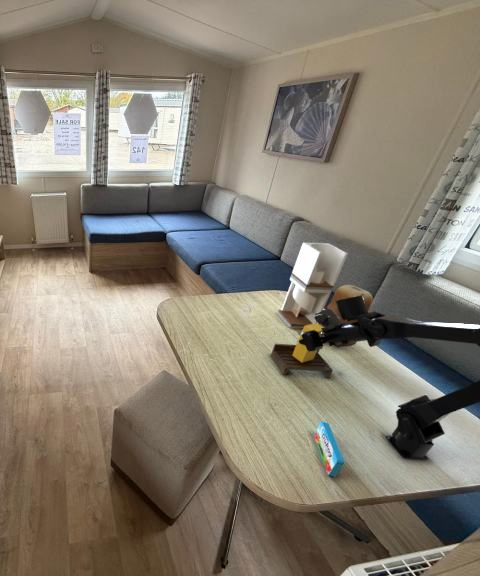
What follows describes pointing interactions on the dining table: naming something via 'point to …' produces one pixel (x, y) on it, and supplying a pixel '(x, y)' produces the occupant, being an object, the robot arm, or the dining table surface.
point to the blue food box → (328, 449)
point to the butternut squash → (348, 292)
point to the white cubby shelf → (311, 283)
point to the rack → (297, 361)
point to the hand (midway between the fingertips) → (305, 340)
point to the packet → (301, 350)
